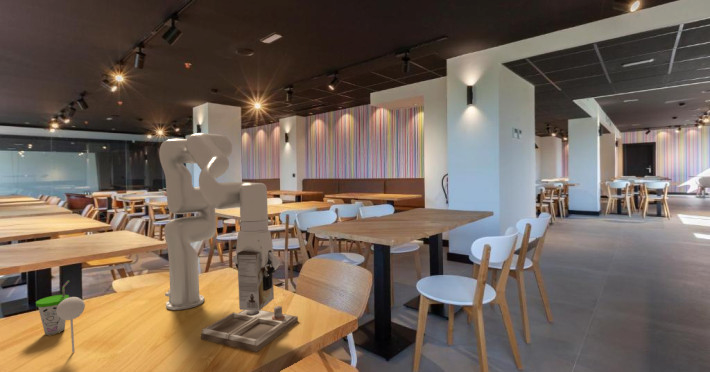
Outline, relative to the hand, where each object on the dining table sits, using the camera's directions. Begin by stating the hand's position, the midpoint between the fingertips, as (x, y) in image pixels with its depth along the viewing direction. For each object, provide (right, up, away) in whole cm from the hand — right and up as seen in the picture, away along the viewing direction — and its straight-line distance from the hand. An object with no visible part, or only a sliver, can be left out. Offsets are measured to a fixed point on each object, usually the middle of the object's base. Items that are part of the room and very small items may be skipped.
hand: (256, 287), depth 99 cm
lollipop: (-48, -16, -5) cm, 51 cm away
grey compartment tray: (-3, -15, +6) cm, 16 cm away
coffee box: (0, -5, 0) cm, 5 cm away
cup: (-64, -16, +7) cm, 66 cm away
